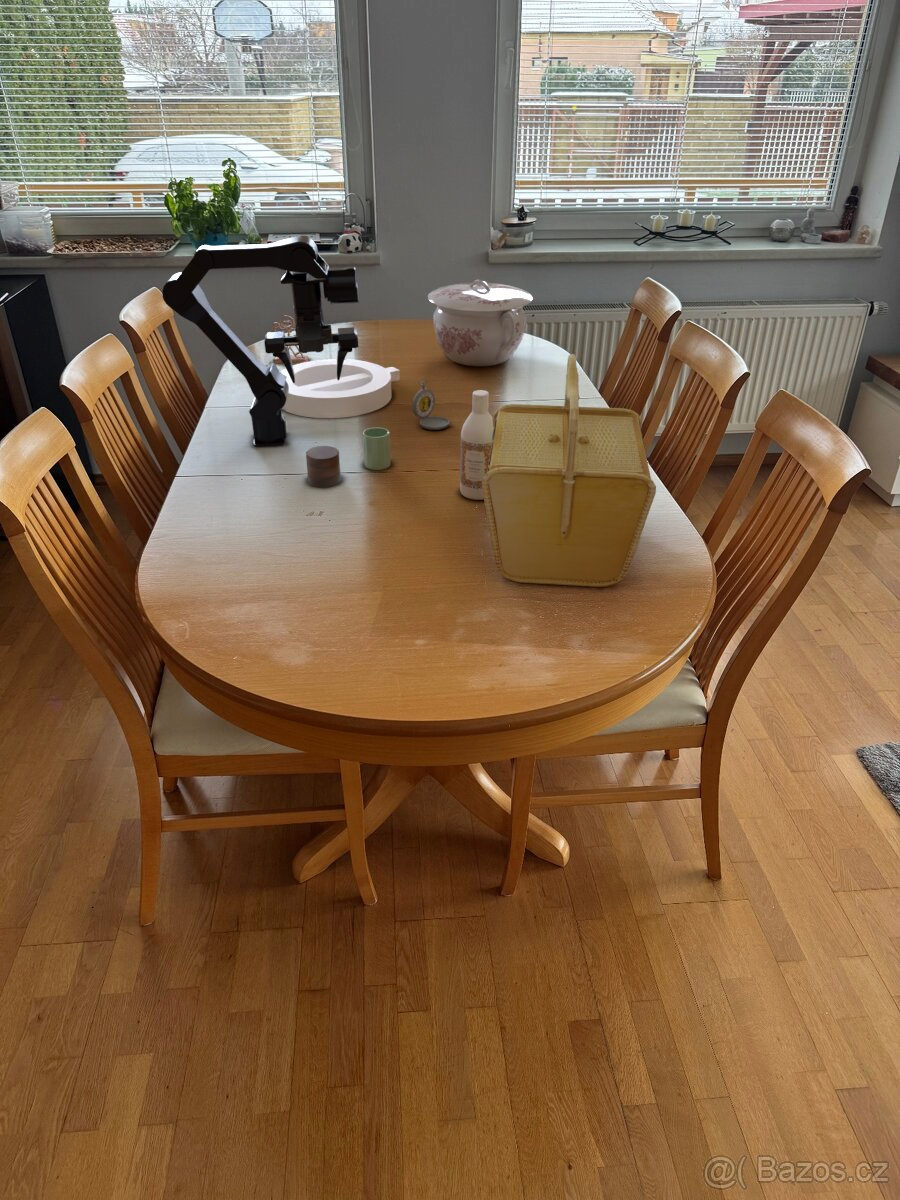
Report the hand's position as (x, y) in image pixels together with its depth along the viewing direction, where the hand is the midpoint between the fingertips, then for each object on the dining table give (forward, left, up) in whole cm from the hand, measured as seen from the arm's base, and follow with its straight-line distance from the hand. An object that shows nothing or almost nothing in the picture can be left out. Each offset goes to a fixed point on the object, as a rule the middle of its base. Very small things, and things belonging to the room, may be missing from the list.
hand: (316, 381), depth 184 cm
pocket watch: (+25, +5, -13) cm, 29 cm away
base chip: (0, -21, -13) cm, 25 cm away
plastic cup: (+11, -15, -13) cm, 23 cm away
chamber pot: (+44, +49, -13) cm, 67 cm away
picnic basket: (+39, -54, -13) cm, 68 cm away
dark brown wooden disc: (0, -21, -9) cm, 23 cm away
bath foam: (+29, -31, -13) cm, 44 cm away
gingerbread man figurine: (-6, +55, -13) cm, 57 cm away
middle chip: (0, -21, -11) cm, 24 cm away
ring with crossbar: (+4, +26, -13) cm, 29 cm away
